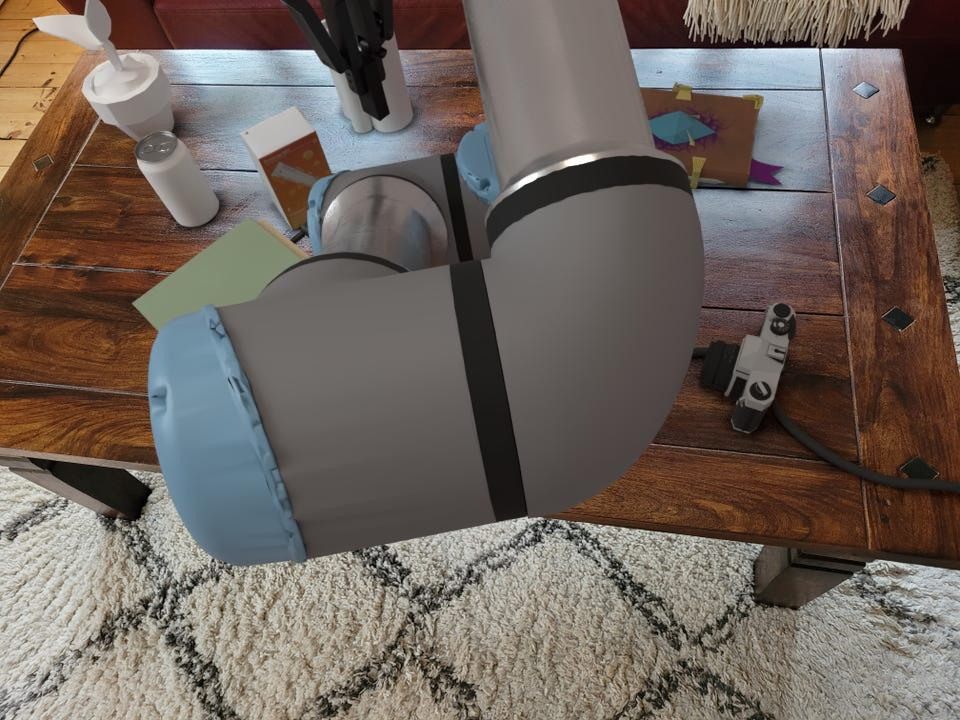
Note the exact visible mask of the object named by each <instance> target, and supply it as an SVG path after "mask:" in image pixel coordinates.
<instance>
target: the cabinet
mask: <svg viewBox="0 0 960 720" xmlns="http://www.w3.org/2000/svg"><path fill="white" fill-rule="evenodd" d="M301 260H302V259H300V258H299V257H298V256H297V255H296V254H294V253H293V252H292V251H291V250H289V249H288V248H287V247H286V246H284V245H283V244H282V243H281V242H280V241H278V240H277V239H276V238H275V237H273V236H272V235H271V234H270V233H269V232H267V231H266V230H265V229H264V228H262V227H261V226H260V225H259V224H257V221H255V220H254V219H253V218H252V217H250V216H248V217H246V218H245V219H243V220H242V221H241V222H239V223H238V224H236V226H234V227H233V228H231V229H230V230H228V231H227V232H226V233H224V234H223V235H222V236H220V237H219V238H218V239H216V240H215V241H213V242H212V243H211V244H210V245H208V246H207V247H205V249H203V250H201V251H200V252H199V253H197V254H196V255H194V257H192V258H190V259H189V260H188V261H187V262H185V263H184V264H183V265H182V266H180V267H179V268H177V269H176V270H175V271H173V272H172V273H171V274H170V275H168V276H166V277H165V278H164V279H163V280H161V281H160V282H158V283H157V284H155V285H154V286H153V287H151V288H150V289H149V290H148V291H146V292H145V293H144V294H143V295H141V296H139V297H138V298H137V299H136V300H134V301H133V302H132V303H131V304H132V306H134V307H135V308H136V309H137V311H138V312H139V313H140V314H141V315H142V316H143V317H144V318H145V319H146V320H147V321H148V323H149V324H150V325H151V326H152V328H154V329H155V330H156V331H157V333H159V331H160V330H161V328H162V327H163V326H164V325H165V324H166V323H167V322H168V321H170V320H171V319H173V318H175V317H178V316H181V315H185V314H189V313H193V312H197V311H200V309H201V308H202V307H203V306H205V305H209V304H213V305H214V306H215V308H216V307H222V306H228V305H233V304H239V303H244V302H248V301H252V300H255V299H256V298H257V297H258V296H259V294H260V293H261V292H262V291H263V290H264V288H265V287H266V286H267V285H268V284H269V283H270V282H271V281H272V280H273V279H274V278H275V277H276V276H277V275H278V274H280V273H281V272H282V271H284V270H285V269H287V268H288V267H290V266H291V265H293V264H295V263H297V262H299V261H301Z"/></svg>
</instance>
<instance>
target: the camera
mask: <svg viewBox="0 0 960 720" xmlns="http://www.w3.org/2000/svg"><path fill="white" fill-rule="evenodd" d="M765 309H766V310H764V311H763V314H764V318H763V321H762V322H761V325H760V327H759V330H758V332H757V334H756V335H753V334H746V335H745V337H743V339H742V342H741V344H739V343H736V342H733V343H727V342H726V341H725V340H721V339H717V340H716V341H714V340H711V341H710V343H709V346H708V348H709V349H708V352H707V355H706V356H705V358H704V361H703V364H702V367H701V370H700V373H699V377H698V380H699V381H702V382H703V384H702V385H705V386H708V387H711V386H712V387H715V388H716V389H717V391H719V392H724V396H725V397H726V398H728V399H730V400H733V401H734V402H735V405H734V409H733V412H732V416H731V419H730V421H731V425H732V427H733V429H734V430H736V431H739V432H743V433H744V434H745V433H746V434H751V433H752V432H754V431H755V430H757V428H758V427H759V426H760V423H761V422H762V420H763V418H764V416H765V415H766V413H767V411H768V410H769V409H770V405H771V403H772V401H773V399H774V396H775V395H776V393H777V389H778V384H779V380H780V378H781V377H784V376H785V375H786V372H787V370H788V365H789V363H790V362H789V361H790V357H791V355H789V353H788V346H789V343H790V342H791V341H793V340H794V338H795V336H796V331H797V321H796V317H797V313H796V312H795V310H794V308H793V307H792V306H791V305H788V304H786V303H782V302H775V303H773V304H772V305H769V304H768V305H767V306H766V307H765ZM775 397H776V396H775Z"/></svg>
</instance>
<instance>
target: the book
mask: <svg viewBox="0 0 960 720" xmlns="http://www.w3.org/2000/svg"><path fill="white" fill-rule="evenodd" d="M640 90H641V94H642V97H643V101H644V105H645V109H646V113H647V117H648V121H649V124H650V128H651V132H652V136H653V140H654V144H655V147H656V149H657V150H660V151H662V152H665V153H667V154H669V155H672V156H674V157H675V158H677V159H678V160H680V161H681V162H682V163H683V165H684V166H685V169H686V171H687V174H688V178H689V182H690V186H691V189H695V190H697V188H698V185H699V183H703V184H704V183H705V184H713V185H719V186H727V187H735V188H736V187H737V188H742V189H745V188H746V187H747V185H748V182H749V177H750V178H751V179H754V180H756V181H759V182H762V183H766V184H769V185H770V184H771V185H784V184H783V183H782V182H781V181H780V180H778V179H777V178H776V177H775V176H774V175H773V174H774V173H776V172H778V171H780V170H782V169H784V168H785V166H782V165H781V166H780V165H774V164H768V163H765V162H761V161H759V160H757V159H754V158H753V153H754V144H755V138H756V131H757V124H758V118H759V114H760V111H761V109H762V106H763V104H764V101H765V96H763V95H760V94H743V95H742V96H733V95H722V94H712V93H701V92H693V86H690V85H685V84H683V83H678V82H677V81H676V82H674V84H673V87H672V88H671V89H661V88H651V87H641V86H640Z"/></svg>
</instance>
